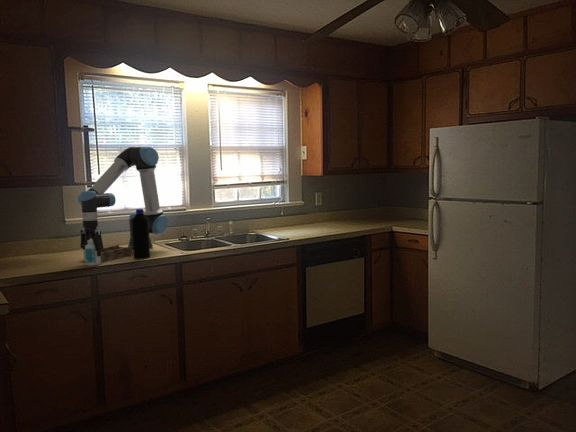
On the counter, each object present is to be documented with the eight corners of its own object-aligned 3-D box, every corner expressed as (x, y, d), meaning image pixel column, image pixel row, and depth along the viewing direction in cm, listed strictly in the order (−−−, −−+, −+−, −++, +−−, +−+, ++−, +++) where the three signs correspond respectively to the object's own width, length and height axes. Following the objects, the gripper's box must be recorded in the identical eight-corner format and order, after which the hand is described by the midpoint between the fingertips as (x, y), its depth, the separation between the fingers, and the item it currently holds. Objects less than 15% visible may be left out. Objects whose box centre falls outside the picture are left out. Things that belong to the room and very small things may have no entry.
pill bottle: (93, 266, 262) (92, 241, 261) (83, 265, 265) (81, 240, 263) (103, 263, 269) (102, 239, 268) (93, 262, 272) (91, 238, 270)
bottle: (131, 257, 285) (129, 209, 282) (146, 255, 291) (143, 208, 288) (137, 259, 278) (135, 210, 275) (152, 257, 284) (150, 209, 281)
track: (117, 253, 300) (117, 244, 300) (133, 254, 294) (132, 246, 293) (84, 260, 279) (83, 251, 279) (100, 262, 273) (99, 253, 272)
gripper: (71, 219, 266) (74, 261, 269) (97, 221, 256) (100, 264, 258) (83, 218, 273) (85, 258, 275) (109, 219, 262) (111, 261, 265)
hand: (92, 261), depth 267 cm, fingers open, 8 cm apart
